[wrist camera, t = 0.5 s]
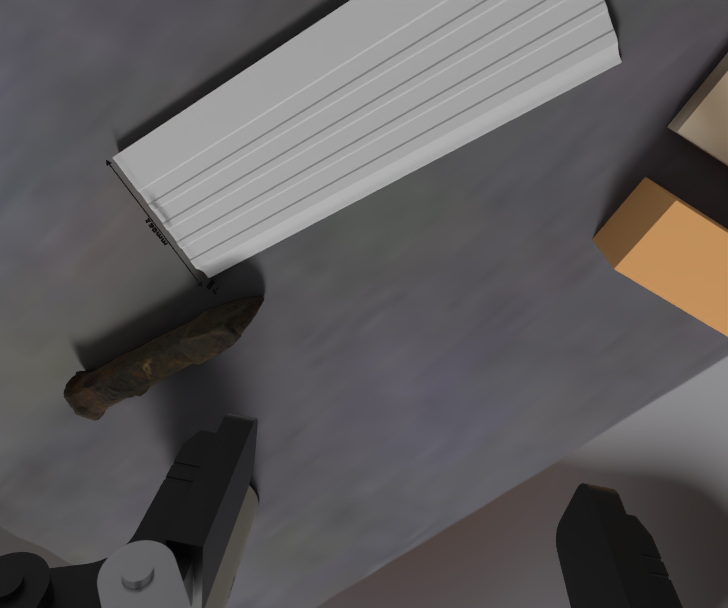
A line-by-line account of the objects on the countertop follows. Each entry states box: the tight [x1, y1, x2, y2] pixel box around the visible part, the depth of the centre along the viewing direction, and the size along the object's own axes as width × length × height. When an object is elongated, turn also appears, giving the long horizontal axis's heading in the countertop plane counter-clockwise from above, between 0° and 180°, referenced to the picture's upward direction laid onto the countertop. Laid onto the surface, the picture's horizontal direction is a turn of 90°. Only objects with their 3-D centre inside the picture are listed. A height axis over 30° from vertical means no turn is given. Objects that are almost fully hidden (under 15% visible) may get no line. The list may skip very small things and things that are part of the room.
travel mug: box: [205, 485, 258, 608], centre depth 45 cm, size 8×8×18 cm
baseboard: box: [106, 0, 621, 294], centre depth 34 cm, size 31×3×12 cm
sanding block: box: [593, 177, 728, 337], centre depth 34 cm, size 5×10×5 cm, turn 61°
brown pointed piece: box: [63, 296, 264, 420], centre depth 43 cm, size 19×4×5 cm, turn 119°
